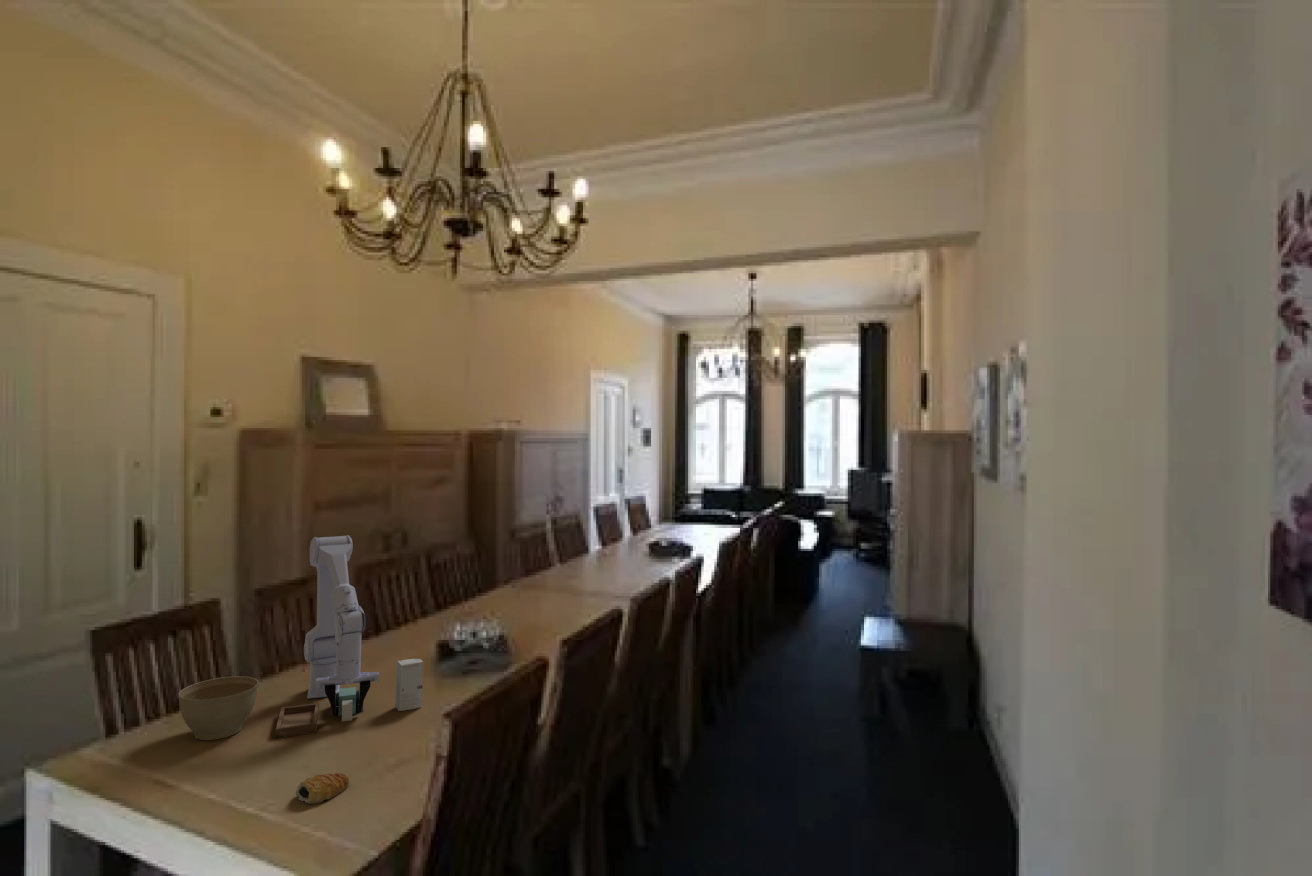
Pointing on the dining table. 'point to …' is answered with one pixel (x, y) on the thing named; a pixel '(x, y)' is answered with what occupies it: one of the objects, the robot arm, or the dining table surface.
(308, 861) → the dining table surface
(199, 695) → the planter bowl
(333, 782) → the pastry
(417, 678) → the skincare box
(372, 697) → the dining table surface
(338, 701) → the bay
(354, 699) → the stacked two-tone block
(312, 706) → the tray
